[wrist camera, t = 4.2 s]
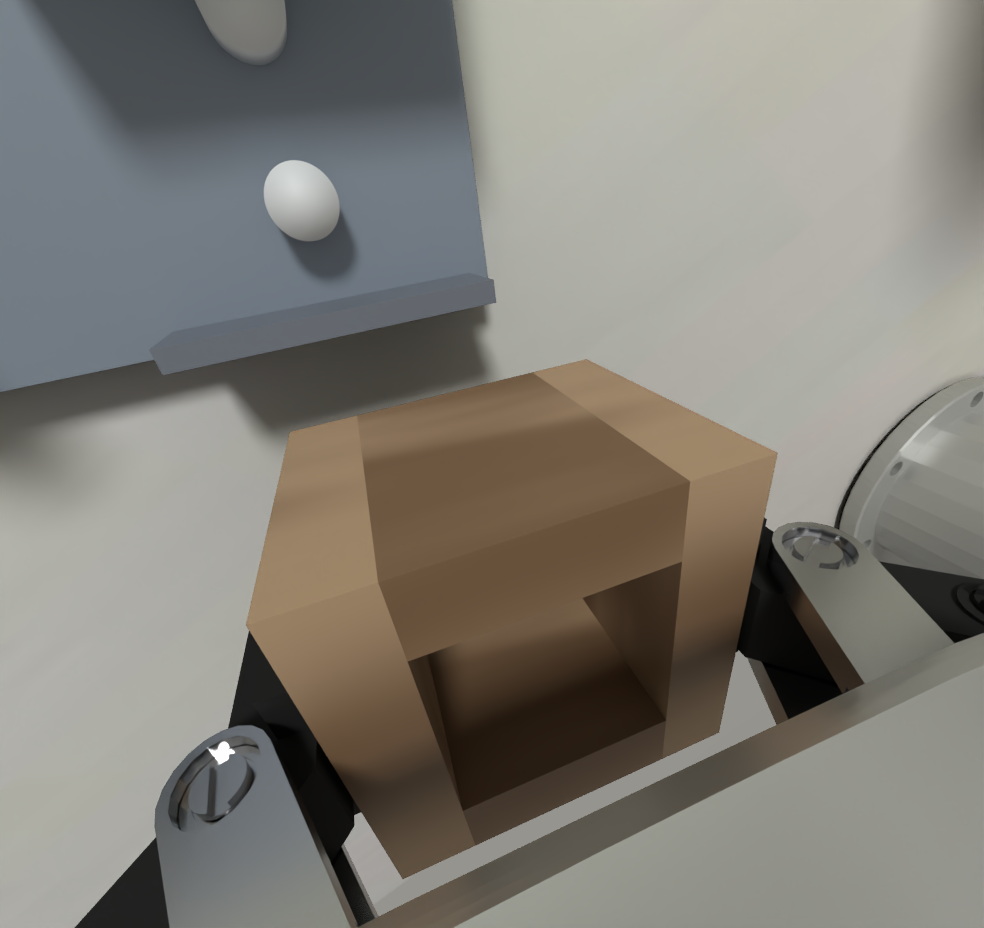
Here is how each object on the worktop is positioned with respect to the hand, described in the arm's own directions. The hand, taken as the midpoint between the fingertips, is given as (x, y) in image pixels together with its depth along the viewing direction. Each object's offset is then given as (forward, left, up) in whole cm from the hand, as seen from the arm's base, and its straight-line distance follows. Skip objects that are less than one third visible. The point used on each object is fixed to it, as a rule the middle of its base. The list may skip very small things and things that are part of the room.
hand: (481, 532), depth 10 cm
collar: (0, 0, -1) cm, 1 cm away
